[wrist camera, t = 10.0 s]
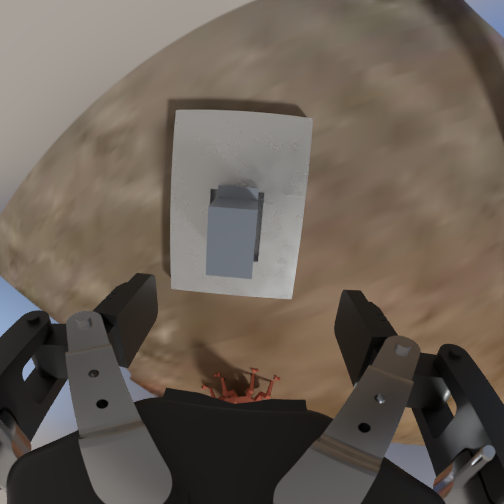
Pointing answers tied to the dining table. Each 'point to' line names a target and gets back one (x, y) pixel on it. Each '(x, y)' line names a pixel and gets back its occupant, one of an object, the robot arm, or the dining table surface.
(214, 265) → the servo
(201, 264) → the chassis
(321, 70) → the dining table surface
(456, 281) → the dining table surface
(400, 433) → the dining table surface
